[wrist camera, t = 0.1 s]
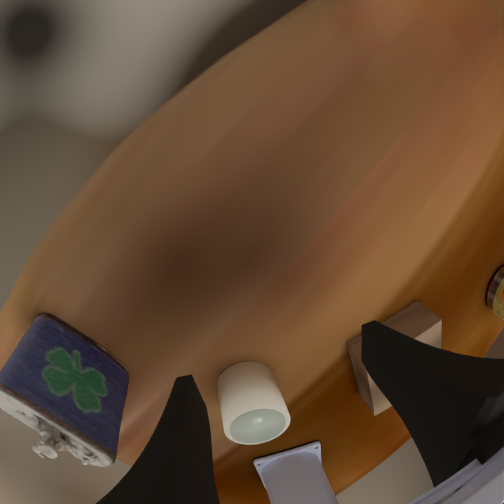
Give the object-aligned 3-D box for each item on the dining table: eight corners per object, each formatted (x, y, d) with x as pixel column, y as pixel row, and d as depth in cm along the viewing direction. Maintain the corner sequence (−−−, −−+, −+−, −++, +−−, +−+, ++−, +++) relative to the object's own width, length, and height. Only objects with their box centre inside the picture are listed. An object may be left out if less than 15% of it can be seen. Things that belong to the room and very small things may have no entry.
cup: (277, 393, 26) (294, 435, 21) (224, 407, 25) (233, 451, 20) (269, 354, 24) (287, 398, 19) (209, 370, 23) (216, 417, 18)
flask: (32, 324, 19) (-25, 418, 9) (44, 302, 19) (-19, 398, 9) (120, 387, 22) (105, 494, 12) (138, 370, 22) (126, 483, 12)
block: (418, 353, 29) (438, 374, 25) (357, 390, 28) (374, 416, 25) (415, 299, 26) (441, 319, 22) (345, 340, 25) (366, 367, 22)
